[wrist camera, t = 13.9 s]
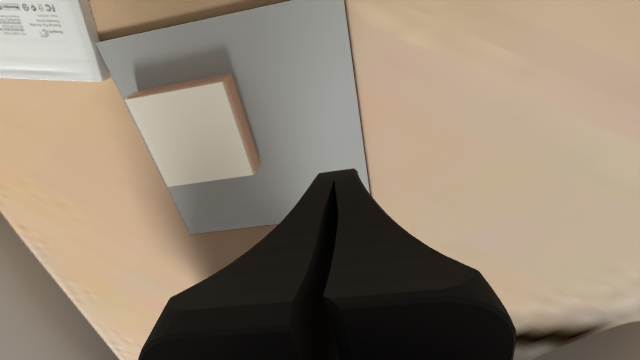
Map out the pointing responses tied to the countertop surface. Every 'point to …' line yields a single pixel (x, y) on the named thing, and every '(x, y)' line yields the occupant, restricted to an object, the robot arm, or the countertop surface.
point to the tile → (196, 130)
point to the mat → (259, 101)
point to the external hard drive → (50, 41)
